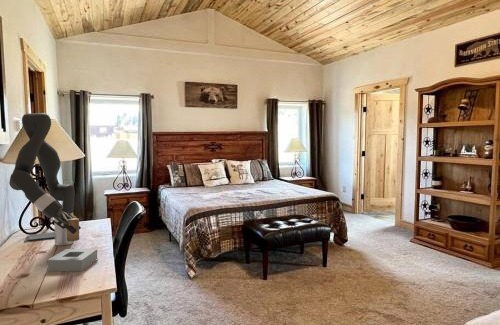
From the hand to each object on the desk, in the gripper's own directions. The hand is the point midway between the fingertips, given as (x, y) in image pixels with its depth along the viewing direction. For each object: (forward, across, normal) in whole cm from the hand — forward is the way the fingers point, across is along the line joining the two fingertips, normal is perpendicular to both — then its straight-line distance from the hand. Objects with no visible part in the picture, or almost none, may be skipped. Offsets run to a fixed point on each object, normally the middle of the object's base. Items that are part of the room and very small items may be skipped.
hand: (77, 230), depth 150 cm
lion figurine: (-10, +76, +31) cm, 82 cm away
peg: (+2, 0, +4) cm, 5 cm away
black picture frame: (-12, +50, +35) cm, 63 cm away
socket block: (+10, 0, +13) cm, 16 cm away
